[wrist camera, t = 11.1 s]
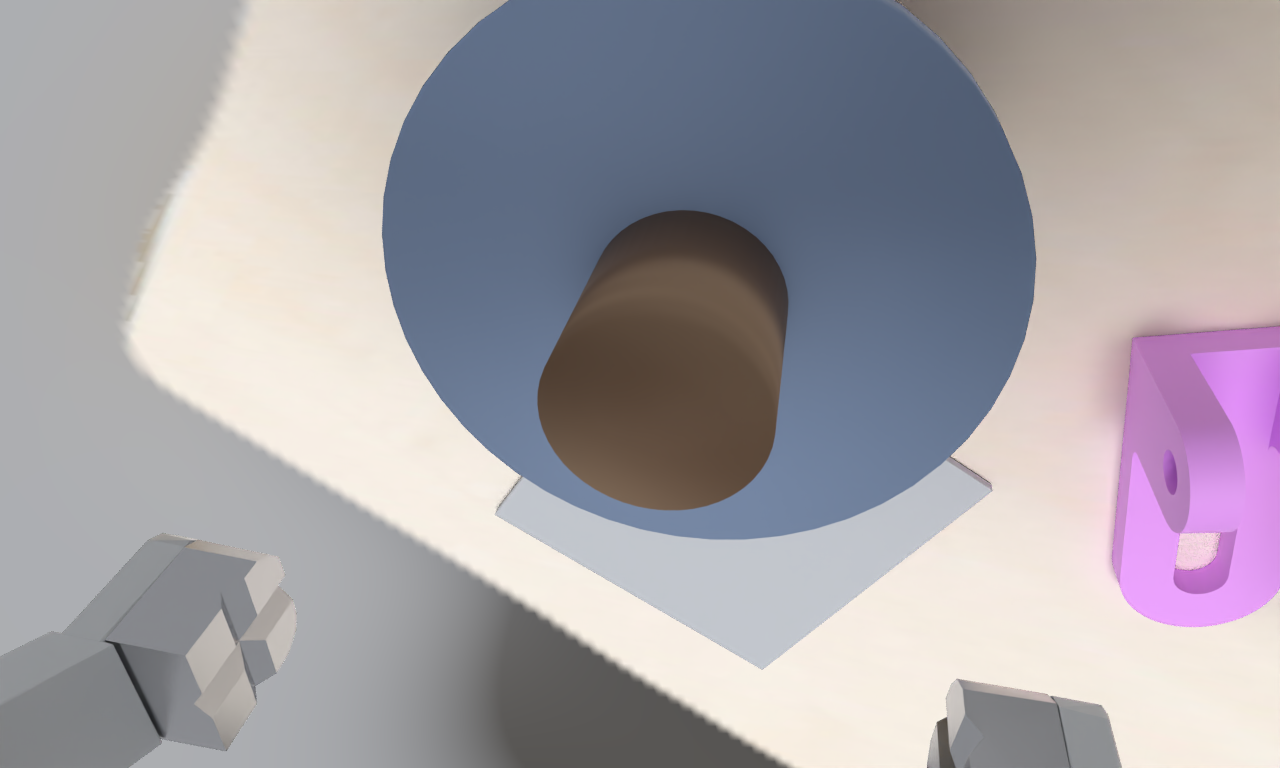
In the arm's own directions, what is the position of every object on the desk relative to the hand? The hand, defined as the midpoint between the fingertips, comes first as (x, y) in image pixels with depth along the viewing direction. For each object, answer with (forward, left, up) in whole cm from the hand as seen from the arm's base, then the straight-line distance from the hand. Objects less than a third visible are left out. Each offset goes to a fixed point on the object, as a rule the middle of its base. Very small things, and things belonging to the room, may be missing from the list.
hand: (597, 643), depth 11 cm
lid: (0, 0, -10) cm, 10 cm away
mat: (+14, +9, -22) cm, 27 cm away
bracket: (+2, +22, -22) cm, 31 cm away
